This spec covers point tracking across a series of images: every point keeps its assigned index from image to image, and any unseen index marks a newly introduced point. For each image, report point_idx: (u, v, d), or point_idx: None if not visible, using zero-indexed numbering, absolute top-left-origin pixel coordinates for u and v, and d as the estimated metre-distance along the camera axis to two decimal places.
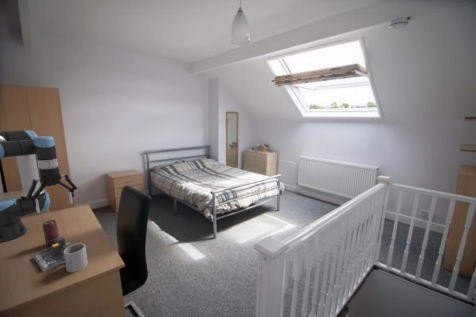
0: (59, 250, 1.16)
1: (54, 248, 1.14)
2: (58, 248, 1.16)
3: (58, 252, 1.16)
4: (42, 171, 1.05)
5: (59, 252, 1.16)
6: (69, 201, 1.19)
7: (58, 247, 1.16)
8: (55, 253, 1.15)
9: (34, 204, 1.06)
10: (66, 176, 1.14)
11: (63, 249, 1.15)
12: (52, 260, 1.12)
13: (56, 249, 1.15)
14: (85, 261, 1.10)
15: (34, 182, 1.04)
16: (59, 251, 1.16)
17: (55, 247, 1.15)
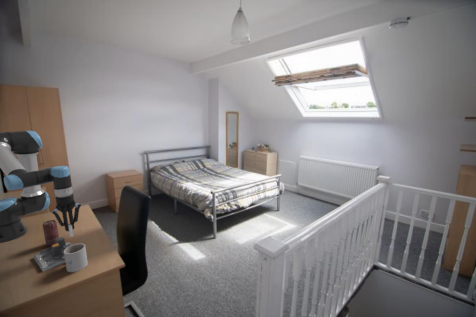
0: (59, 250, 1.16)
1: (54, 248, 1.14)
2: (58, 248, 1.16)
3: (58, 252, 1.16)
4: (58, 199, 1.13)
5: (59, 252, 1.16)
6: None
7: (58, 247, 1.16)
8: (55, 253, 1.15)
9: (67, 229, 1.18)
10: (79, 206, 1.21)
11: (63, 249, 1.15)
12: (52, 260, 1.12)
13: (56, 249, 1.15)
14: (85, 261, 1.10)
15: (54, 213, 1.12)
16: (59, 251, 1.16)
17: (55, 247, 1.15)
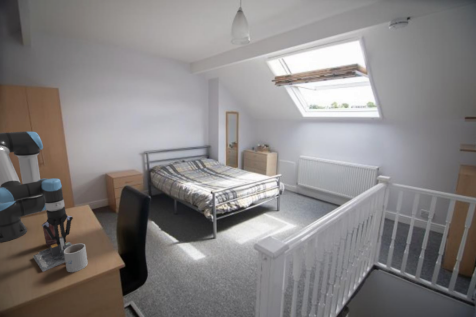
0: (58, 250, 1.16)
1: (53, 248, 1.14)
2: (57, 248, 1.15)
3: (57, 252, 1.15)
4: (49, 213, 1.10)
5: (58, 252, 1.16)
6: None
7: (57, 247, 1.15)
8: (54, 254, 1.14)
9: (58, 243, 1.16)
10: (71, 218, 1.19)
11: (63, 249, 1.15)
12: (52, 260, 1.12)
13: (54, 249, 1.14)
14: (85, 261, 1.10)
15: (45, 227, 1.10)
16: (58, 251, 1.16)
17: (54, 247, 1.14)
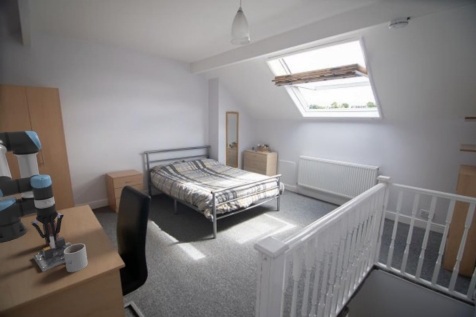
0: (50, 253, 1.13)
1: (46, 251, 1.11)
2: (50, 251, 1.13)
3: (50, 255, 1.13)
4: (39, 210, 1.07)
5: (51, 255, 1.13)
6: None
7: (50, 250, 1.13)
8: (46, 256, 1.12)
9: (48, 241, 1.13)
10: (61, 216, 1.15)
11: (63, 249, 1.15)
12: (52, 260, 1.12)
13: (47, 252, 1.12)
14: (85, 261, 1.10)
15: (34, 225, 1.07)
16: (51, 254, 1.13)
17: (46, 250, 1.12)
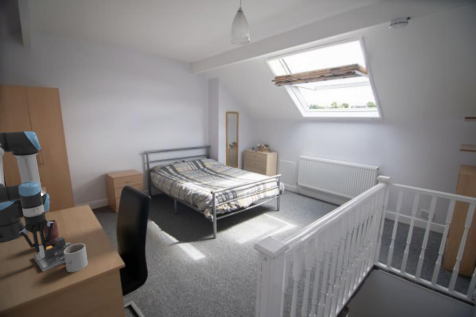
0: (52, 253, 1.14)
1: (47, 250, 1.12)
2: (51, 251, 1.13)
3: (51, 255, 1.14)
4: (27, 219, 1.04)
5: (52, 255, 1.14)
6: None
7: (51, 250, 1.13)
8: (48, 256, 1.13)
9: (37, 250, 1.09)
10: (51, 224, 1.12)
11: (63, 249, 1.15)
12: (52, 260, 1.12)
13: (49, 252, 1.13)
14: (85, 261, 1.10)
15: (22, 234, 1.04)
16: (52, 254, 1.14)
17: (48, 250, 1.12)
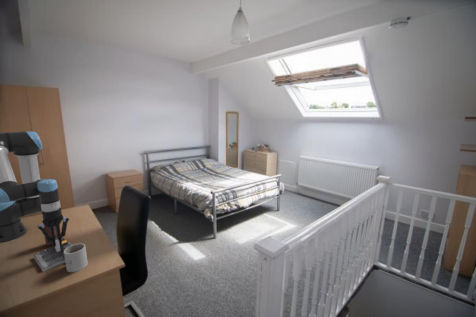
0: None
1: (63, 244, 1.17)
2: None
3: None
4: (45, 214, 1.09)
5: None
6: None
7: (66, 244, 1.18)
8: None
9: (54, 244, 1.15)
10: (67, 220, 1.17)
11: (63, 249, 1.15)
12: (52, 260, 1.12)
13: None
14: (85, 261, 1.10)
15: (40, 228, 1.09)
16: None
17: (63, 244, 1.17)
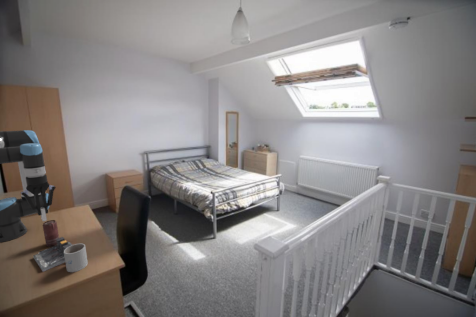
0: None
1: (62, 244, 1.17)
2: None
3: None
4: (29, 179, 1.02)
5: None
6: None
7: (66, 244, 1.18)
8: None
9: (39, 213, 1.08)
10: (53, 188, 1.11)
11: (63, 249, 1.15)
12: (52, 260, 1.12)
13: None
14: (85, 261, 1.10)
15: (24, 194, 1.02)
16: None
17: (63, 244, 1.17)
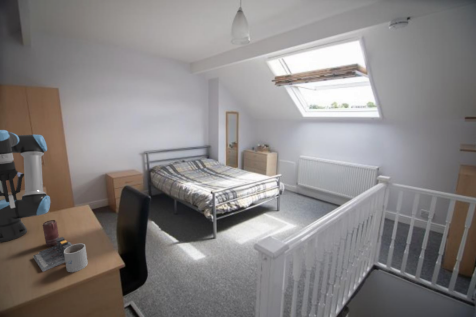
0: None
1: (62, 244, 1.17)
2: None
3: None
4: None
5: None
6: None
7: (66, 244, 1.18)
8: None
9: (7, 200, 1.09)
10: (21, 175, 1.11)
11: (63, 249, 1.15)
12: (52, 260, 1.12)
13: None
14: (85, 261, 1.10)
15: None
16: None
17: (63, 244, 1.17)
